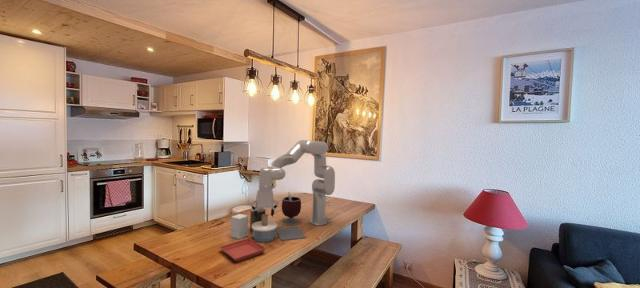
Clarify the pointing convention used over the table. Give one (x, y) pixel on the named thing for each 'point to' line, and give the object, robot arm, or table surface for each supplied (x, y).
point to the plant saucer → (242, 249)
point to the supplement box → (239, 226)
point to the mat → (290, 233)
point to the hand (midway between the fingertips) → (264, 216)
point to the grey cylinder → (253, 219)
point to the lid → (264, 224)
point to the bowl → (264, 235)
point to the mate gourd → (291, 209)
